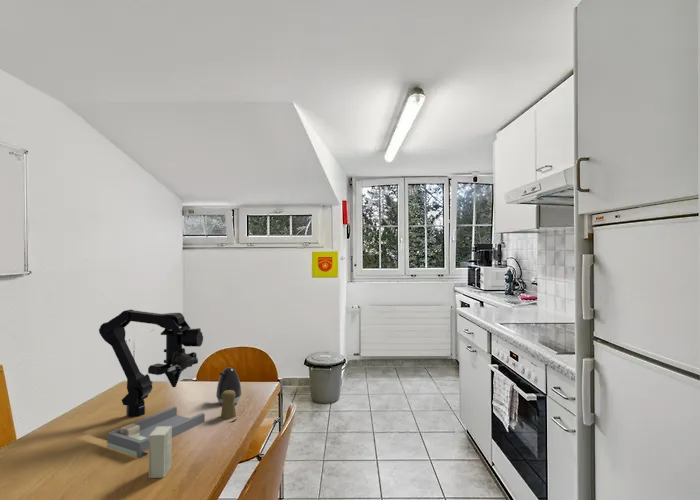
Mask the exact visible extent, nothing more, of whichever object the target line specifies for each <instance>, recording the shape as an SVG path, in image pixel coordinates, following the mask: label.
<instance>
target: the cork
mask: <svg viewBox="0 0 700 500" xmlns="http://www.w3.org/2000/svg"><path fill="white" fill-rule="evenodd" d="M235 396H236V394H235V391H233V390H226V391H224V392H223V393H222V395H221V398H222V400H223V404H221V411H220V412H221V413H220V418H221V419H223V420H231V419H233V418H235V419H233V420H231V421H230V422H228V424H231V423H234V422H236V421H237V418H236V417H237V412H236V404H235V403H234V399H235Z"/></svg>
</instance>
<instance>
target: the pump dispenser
mask: <svg viewBox="0 0 700 500" xmlns="http://www.w3.org/2000/svg"><path fill="white" fill-rule="evenodd" d="M219 375H220V376H219V379H218V382H217V387H216V392H215V394H216V398H217V399H216V400H217V402H218V403H219V404H220V405H222V404H223V400H222V398H221V395H222V393H223V392H224V391H226V390H233V391H235V394H236V396H235V399H234V403H235V405H236V404H237V403H238V402H239V400H240V398H241V395H242V386H241V381H240V378H239V374H238V373H237V371H236V369H235V368H233V367H231V366H230V367H229V366H228V367H226V368H224V369H223V371H222V372H220V373H219Z"/></svg>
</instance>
